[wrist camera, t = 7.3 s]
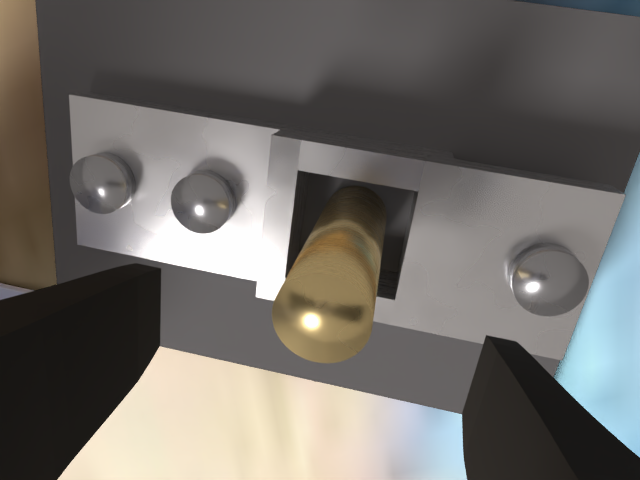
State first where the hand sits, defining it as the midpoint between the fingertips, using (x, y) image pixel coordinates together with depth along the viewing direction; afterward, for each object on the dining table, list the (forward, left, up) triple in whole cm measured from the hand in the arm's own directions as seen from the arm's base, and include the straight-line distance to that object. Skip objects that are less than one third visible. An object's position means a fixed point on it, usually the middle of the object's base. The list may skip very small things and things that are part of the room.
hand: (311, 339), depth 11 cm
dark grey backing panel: (-2, 0, -10) cm, 10 cm away
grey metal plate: (-1, 0, -9) cm, 9 cm away
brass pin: (0, 0, -9) cm, 9 cm away
